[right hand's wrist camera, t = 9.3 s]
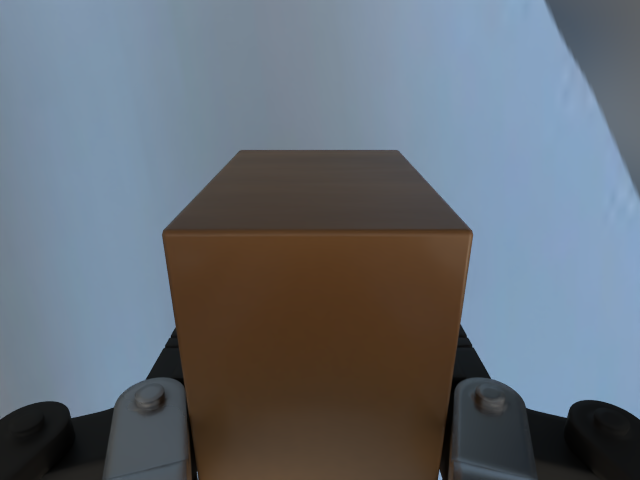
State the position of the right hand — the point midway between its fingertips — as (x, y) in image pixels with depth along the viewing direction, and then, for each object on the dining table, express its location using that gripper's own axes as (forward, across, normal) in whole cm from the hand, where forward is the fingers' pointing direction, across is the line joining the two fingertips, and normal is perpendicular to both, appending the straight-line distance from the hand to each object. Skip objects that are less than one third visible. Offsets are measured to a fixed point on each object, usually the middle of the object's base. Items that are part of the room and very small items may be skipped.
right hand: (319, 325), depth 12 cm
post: (+2, 0, -34) cm, 34 cm away
